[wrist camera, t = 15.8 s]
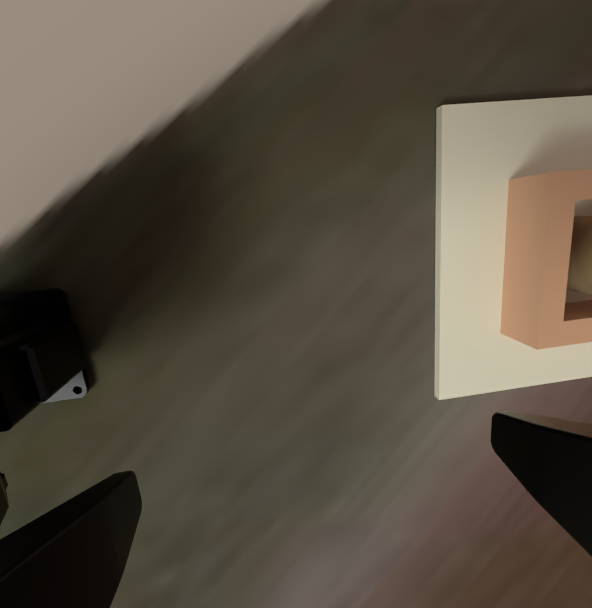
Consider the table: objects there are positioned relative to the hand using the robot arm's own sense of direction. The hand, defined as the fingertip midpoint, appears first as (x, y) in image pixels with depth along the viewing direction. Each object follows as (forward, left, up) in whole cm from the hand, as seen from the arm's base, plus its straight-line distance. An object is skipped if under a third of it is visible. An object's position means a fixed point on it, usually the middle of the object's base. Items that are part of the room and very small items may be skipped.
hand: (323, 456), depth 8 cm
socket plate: (+19, +2, -13) cm, 23 cm away
